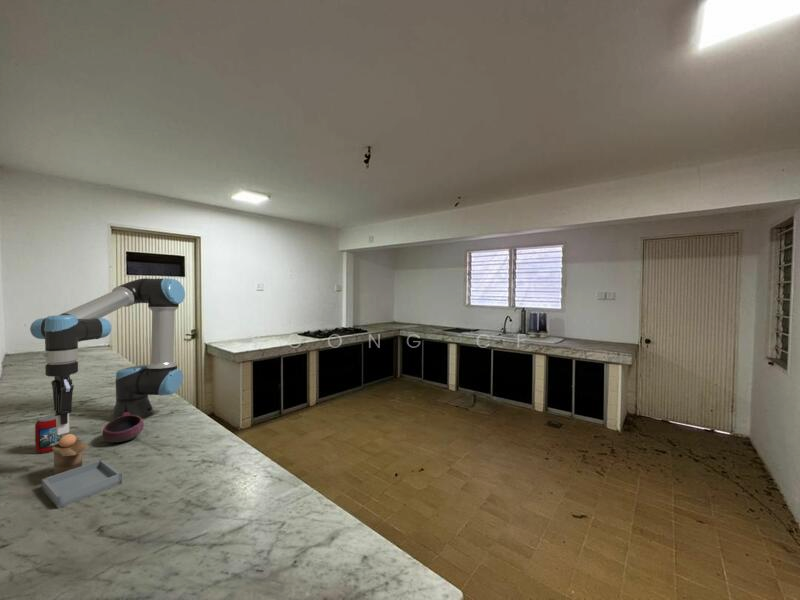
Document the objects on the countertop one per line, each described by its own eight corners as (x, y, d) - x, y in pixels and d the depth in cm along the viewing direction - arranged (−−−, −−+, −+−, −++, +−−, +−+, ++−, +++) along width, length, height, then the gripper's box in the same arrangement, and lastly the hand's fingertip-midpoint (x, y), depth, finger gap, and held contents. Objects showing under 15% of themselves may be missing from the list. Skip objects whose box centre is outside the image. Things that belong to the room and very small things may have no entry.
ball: (74, 443, 110) (73, 431, 110) (78, 445, 108) (77, 432, 108) (57, 448, 106) (56, 436, 106) (61, 450, 104) (60, 437, 104)
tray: (102, 468, 110) (102, 459, 110) (121, 483, 102) (121, 473, 102) (41, 489, 99) (41, 479, 99) (58, 508, 90) (58, 497, 90)
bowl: (150, 437, 134) (150, 417, 133) (111, 450, 122) (111, 429, 122) (130, 428, 141) (130, 410, 141) (91, 440, 130) (91, 420, 130)
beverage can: (44, 455, 118) (44, 422, 118) (30, 453, 120) (29, 420, 119) (67, 446, 125) (66, 415, 125) (53, 444, 126) (52, 413, 126)
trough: (78, 466, 112) (78, 437, 111) (89, 475, 106) (89, 445, 106) (51, 475, 106) (50, 445, 106) (61, 485, 100) (61, 454, 100)
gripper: (40, 361, 109) (41, 432, 110) (51, 367, 102) (52, 442, 103) (71, 357, 115) (72, 424, 116) (84, 362, 108) (84, 433, 109)
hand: (62, 433), depth 109 cm, fingers closed
